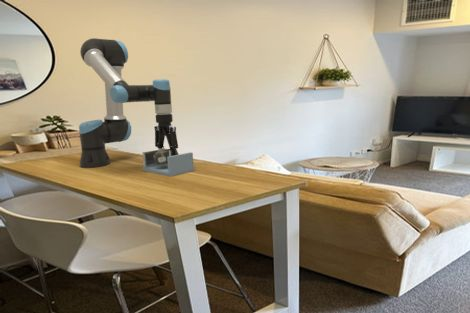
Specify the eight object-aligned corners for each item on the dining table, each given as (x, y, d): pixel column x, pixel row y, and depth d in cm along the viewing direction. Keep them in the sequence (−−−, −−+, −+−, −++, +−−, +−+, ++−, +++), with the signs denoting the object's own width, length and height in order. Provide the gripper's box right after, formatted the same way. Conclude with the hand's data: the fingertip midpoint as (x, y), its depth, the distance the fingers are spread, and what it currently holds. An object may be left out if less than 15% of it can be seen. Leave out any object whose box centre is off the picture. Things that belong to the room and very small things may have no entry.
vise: (142, 170, 163) (140, 152, 162) (166, 165, 173) (165, 148, 171) (169, 176, 148) (168, 157, 147) (194, 170, 158) (193, 152, 157)
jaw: (143, 166, 163) (142, 152, 162) (166, 162, 172) (165, 148, 171) (145, 167, 161) (144, 152, 160) (168, 162, 171) (167, 148, 169)
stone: (167, 174, 155) (155, 156, 151) (160, 174, 160) (148, 157, 157) (188, 156, 162) (177, 139, 159) (180, 157, 168) (169, 140, 165)
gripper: (144, 114, 160) (148, 161, 164) (170, 114, 146) (174, 166, 150) (157, 113, 165) (161, 159, 169) (184, 113, 152) (187, 163, 156)
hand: (167, 162), depth 160 cm, fingers closed on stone, 7 cm apart
